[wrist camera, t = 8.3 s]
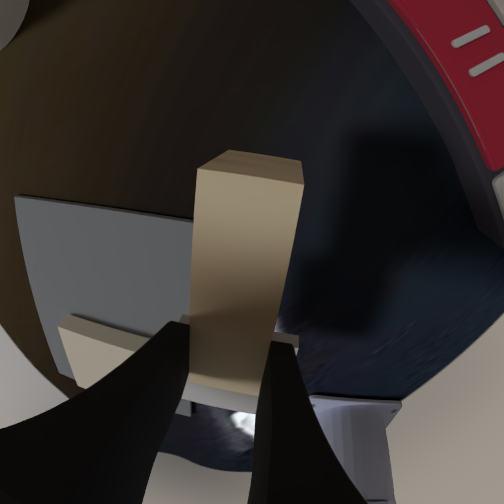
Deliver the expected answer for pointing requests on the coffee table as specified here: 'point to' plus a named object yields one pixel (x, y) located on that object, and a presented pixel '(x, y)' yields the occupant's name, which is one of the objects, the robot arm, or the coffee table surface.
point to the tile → (95, 348)
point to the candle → (11, 19)
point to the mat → (105, 268)
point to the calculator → (455, 86)
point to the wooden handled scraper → (239, 273)
